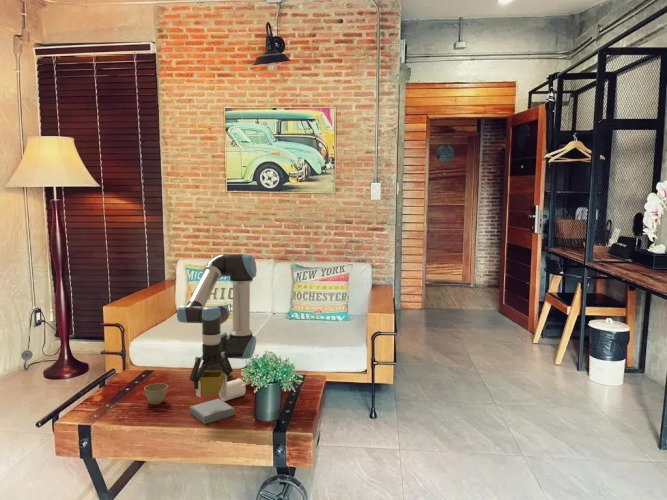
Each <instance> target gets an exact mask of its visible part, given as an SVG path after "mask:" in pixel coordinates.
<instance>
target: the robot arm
mask: <svg viewBox="0 0 667 500" xmlns="http://www.w3.org/2000/svg"><path fill="white" fill-rule="evenodd" d="M257 272H258V271H257V263H256V259H255V257H254V255H251V254H244V253H241V254H240V253H236V254H235V253H222V254H219V255H217V256H214V258H212V259H211V260H209V261H208V262H207V263H206V264H205V266H204V267H203V269H202V275H201V278H200V279H199V282H198V284H197V285H196V287H195V289H194V291H193V293H192V294H191V296H190V298H189V300H188V301H187V304H186V305H180V306H179V307H178V308H177V311H176V318H177V321H178V322H179V323H185V324H202V325H201V327H202V328H201V329H202V332H201V333H202V338H201V339H202V342H201V343H202V347H201V348H202V355H201V356H196V357H194V359H195V361H194V365H193V367H192V369H191V370H192V371H191V373H190V376H189V380H190V381H191V382H193V386H194V387H193V388H194V389H195V392H196V393H195V395H196V397H198V398H202V395H201V394H202V390H201V382H200V378H201V376H202V374H203V373H204V371H224V375H223V389H224V390H227V382H229V379H230V377H231V373H233V371H234V370H233V368H232V364H231V363H230V361H229V359H240V360H250V359H251V358H252V357H253V356H254V354H255V350H256V344H257V337H256V336H255V335H253V331H252V330H251V329H250V324H251V323H250V321H251V320H250V314H251V313H250V311H251V310H250V308H251V307H250V306H251V303H250V299H251V298H250V297H251V295H250V293H251V291H250V290H251V283H252V282H253V281H254V278H255V277H256V276H257ZM223 277H226V278H229V282H231V283H232V330H230V332H229V335H228V334H227V332H226V331H222V330H221V325H222V324H223V323H225V322H226V321H227V320H228V319H229V318H230V315H231V312H230V309H229V308H228V307H227V305H222V304H221V305H210V306H209V305H207V302H208V300H209V298H210V296H211V294H212V292H213V290H214V288H215V285H216V284H217V282H218V281H220V280H221V279H222V278H223ZM206 305H207V306H206Z"/></svg>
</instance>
